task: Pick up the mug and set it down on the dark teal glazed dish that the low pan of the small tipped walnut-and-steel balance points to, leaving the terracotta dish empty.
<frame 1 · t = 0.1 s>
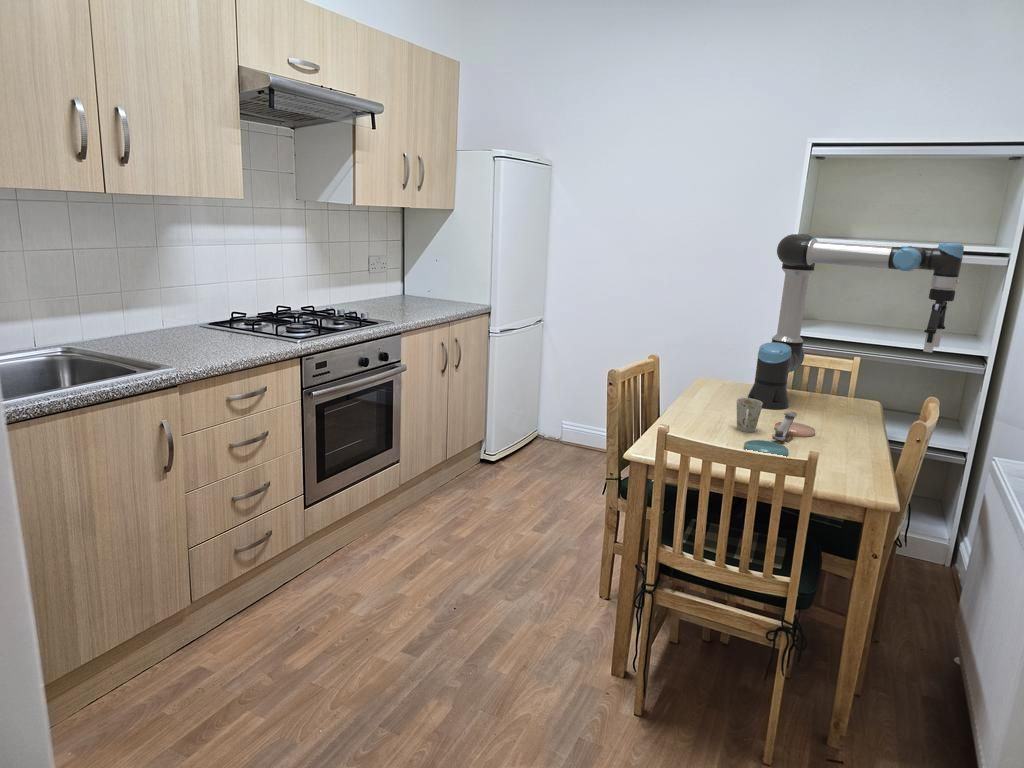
hand: (931, 349, 243), 28 cm above the table, fingers open, 13 cm apart
dish front: (765, 450, 216), on the table
dish back: (794, 431, 237), on the table
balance: (782, 438, 228), on the table
mug: (745, 431, 234), on the table
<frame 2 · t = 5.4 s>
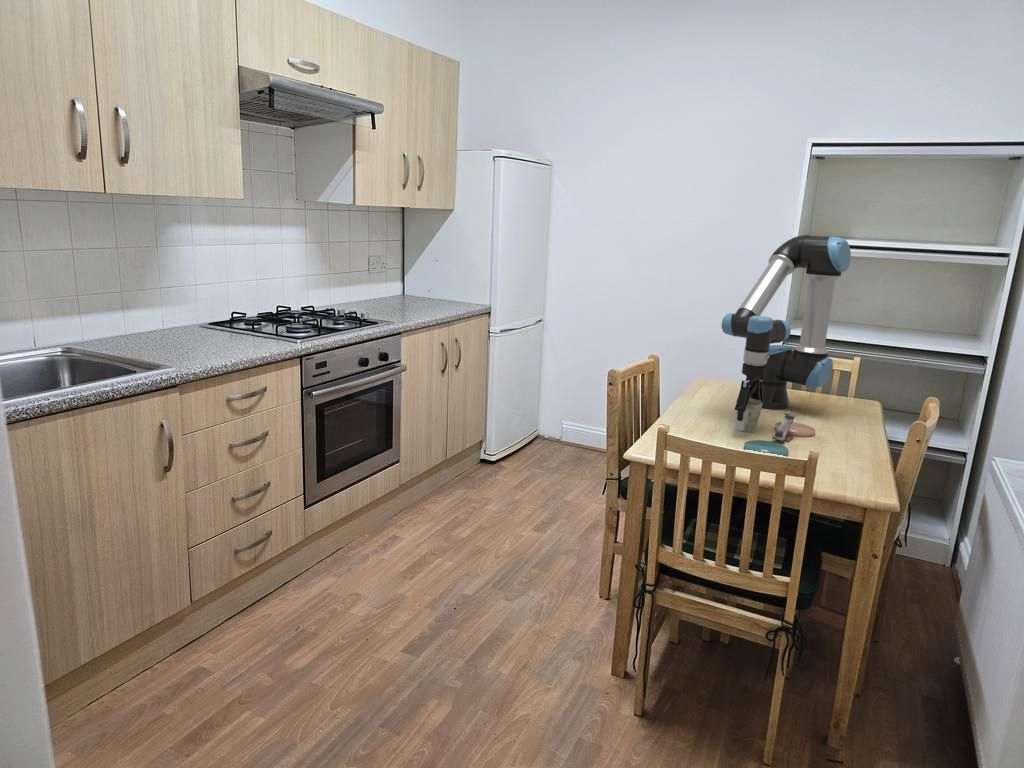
hand: (746, 425, 234), 2 cm above the table, fingers closed on mug, 12 cm apart
mug: (745, 431, 234), on the table, touching gripper
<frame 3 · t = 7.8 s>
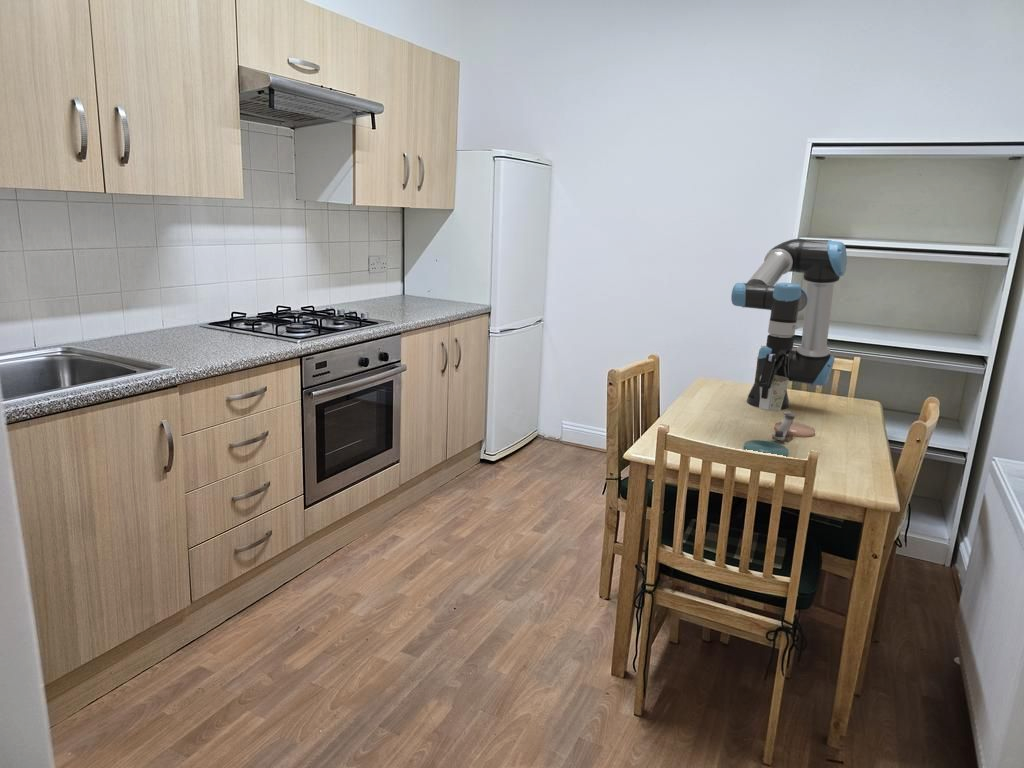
hand: (771, 404, 212), 15 cm above the table, fingers closed on mug, 12 cm apart
mug: (770, 411, 213), point 13 cm above the table, touching gripper
when the fingers open (5 cm above the table, at t = 10.2 s): mug drops 2 cm, resting on dish front.
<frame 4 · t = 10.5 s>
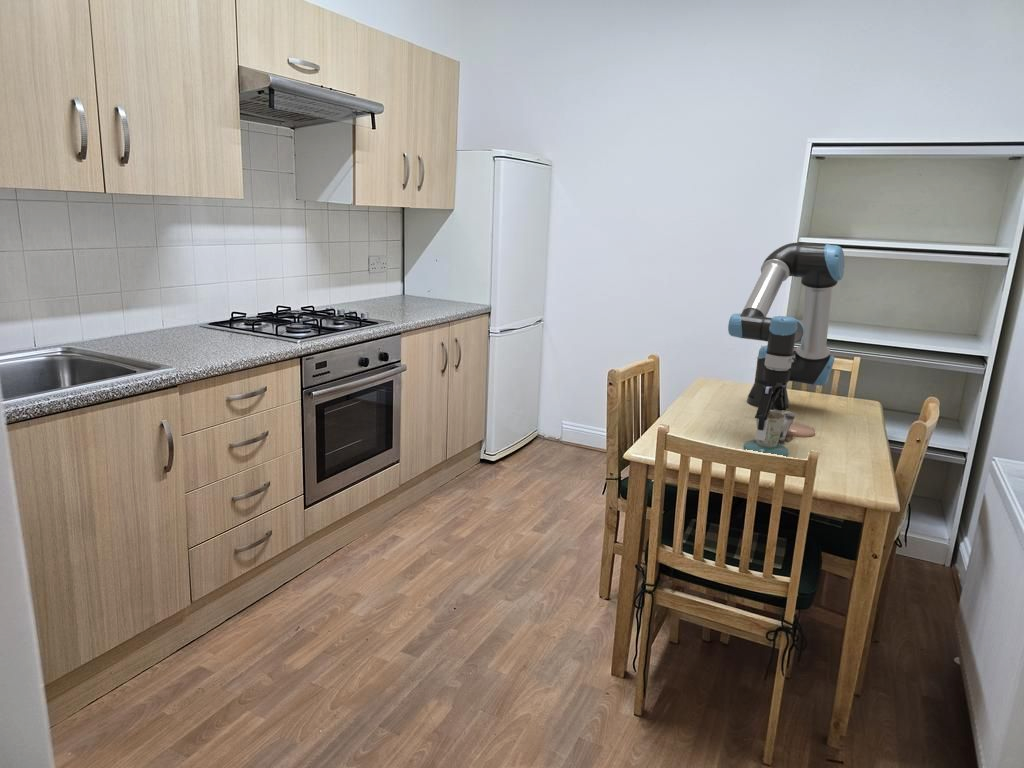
hand: (767, 434, 214), 5 cm above the table, fingers open, 13 cm apart
mug: (766, 447, 216), point 1 cm above the table, touching dish front, gripper
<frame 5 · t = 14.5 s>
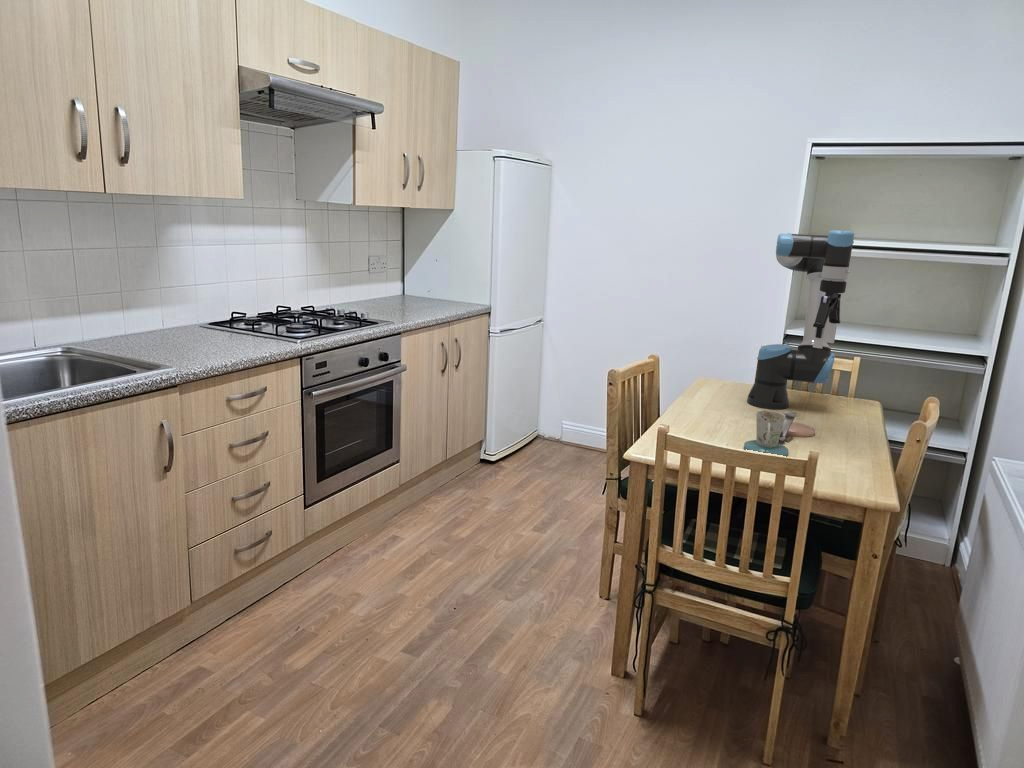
hand: (823, 345, 226), 31 cm above the table, fingers open, 13 cm apart
mug: (766, 447, 216), point 1 cm above the table, touching dish front
at the end: mug 0.3 cm from the dish front (horizontally); mug tilted 0°; the gripper is holding nothing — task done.
